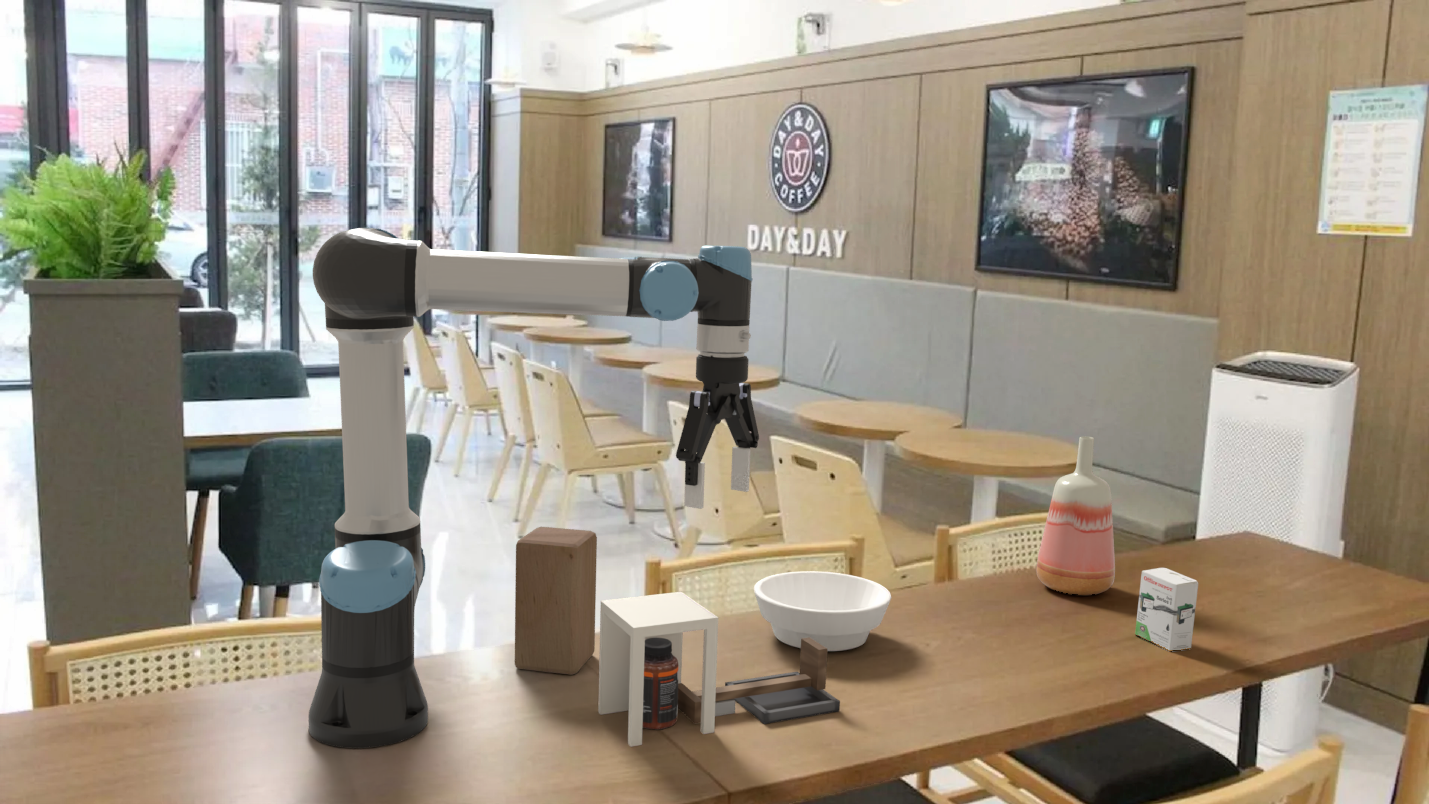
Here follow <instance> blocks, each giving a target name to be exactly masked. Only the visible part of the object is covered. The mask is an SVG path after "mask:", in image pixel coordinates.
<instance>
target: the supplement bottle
mask: <svg viewBox="0 0 1429 804" xmlns="http://www.w3.org/2000/svg"><path fill="white" fill-rule="evenodd" d="M671 652H672V642H671V641H670V640H668V639H665V638H649V639H646V640H645V652H644V689H643V725H642V729H647V730H664V729H668V728H671V727H672V726H674V725H675V724H676V723H677V722H678V712H679V711H678V710H679V709H678V660H677V658H676V657H675V656H673V655H672V653H671Z"/></svg>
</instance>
